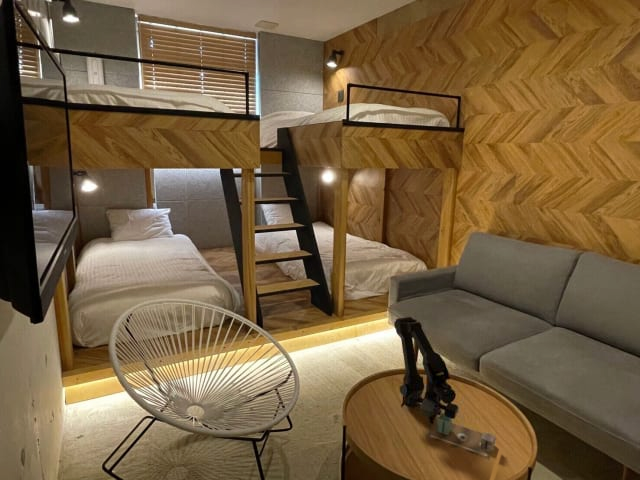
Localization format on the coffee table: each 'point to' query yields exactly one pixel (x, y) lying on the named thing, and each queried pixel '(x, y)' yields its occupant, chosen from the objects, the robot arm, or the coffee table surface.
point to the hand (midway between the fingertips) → (431, 423)
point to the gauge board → (465, 439)
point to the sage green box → (444, 424)
